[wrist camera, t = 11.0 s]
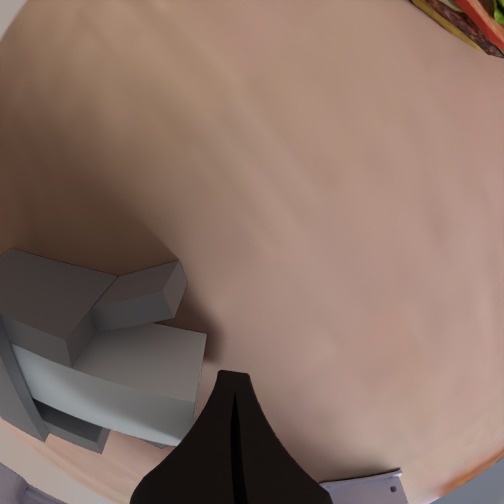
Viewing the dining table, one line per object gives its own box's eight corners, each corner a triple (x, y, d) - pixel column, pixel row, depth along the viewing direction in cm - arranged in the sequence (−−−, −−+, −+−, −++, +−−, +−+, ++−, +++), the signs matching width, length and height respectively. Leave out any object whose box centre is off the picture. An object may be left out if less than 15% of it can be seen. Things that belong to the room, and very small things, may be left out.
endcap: (190, 262, 11) (153, 349, 6) (177, 415, 14) (162, 491, 9) (9, 224, 10) (-65, 265, 5) (39, 371, 14) (3, 426, 9)
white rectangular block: (207, 333, 12) (195, 402, 9) (199, 385, 13) (189, 448, 10) (38, 290, 11) (-7, 333, 8) (48, 343, 13) (15, 388, 9)
